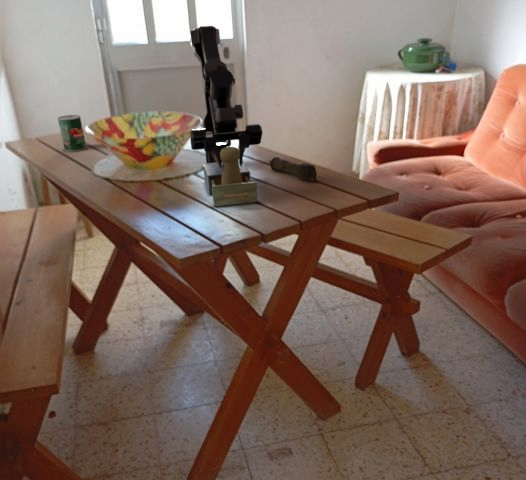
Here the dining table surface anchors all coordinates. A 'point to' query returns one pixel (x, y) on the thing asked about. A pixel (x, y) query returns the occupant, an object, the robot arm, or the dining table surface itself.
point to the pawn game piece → (230, 165)
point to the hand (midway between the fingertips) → (231, 166)
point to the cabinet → (219, 173)
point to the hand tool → (295, 169)
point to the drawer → (233, 191)
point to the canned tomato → (72, 132)
